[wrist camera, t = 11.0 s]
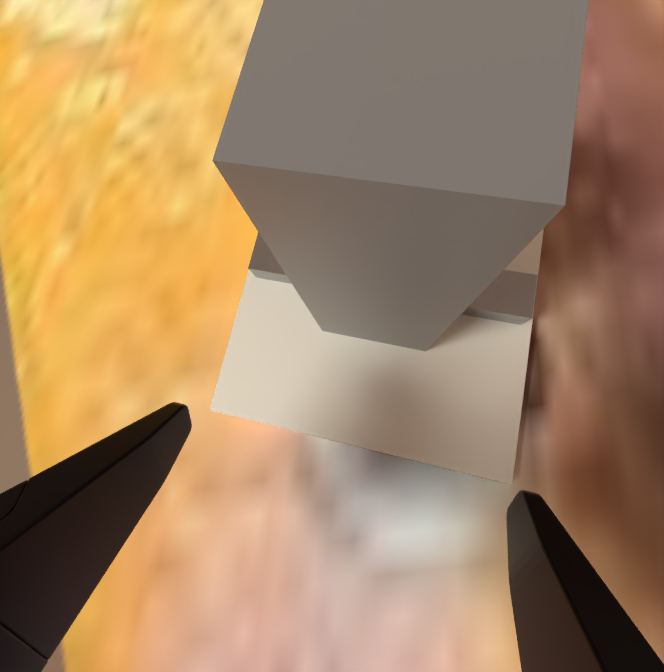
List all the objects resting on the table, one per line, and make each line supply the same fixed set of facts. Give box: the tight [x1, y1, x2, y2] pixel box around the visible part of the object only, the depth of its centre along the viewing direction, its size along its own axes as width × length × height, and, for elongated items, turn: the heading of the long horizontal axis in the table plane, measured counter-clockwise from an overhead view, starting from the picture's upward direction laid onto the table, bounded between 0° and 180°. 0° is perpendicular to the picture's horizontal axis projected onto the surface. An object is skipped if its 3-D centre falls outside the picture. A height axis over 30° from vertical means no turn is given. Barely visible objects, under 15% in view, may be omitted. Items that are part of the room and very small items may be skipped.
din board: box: [210, 228, 544, 485], centre depth 17 cm, size 16×14×1 cm
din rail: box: [248, 232, 537, 325], centre depth 17 cm, size 2×13×1 cm, turn 77°
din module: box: [213, 0, 589, 351], centre depth 11 cm, size 6×5×12 cm
